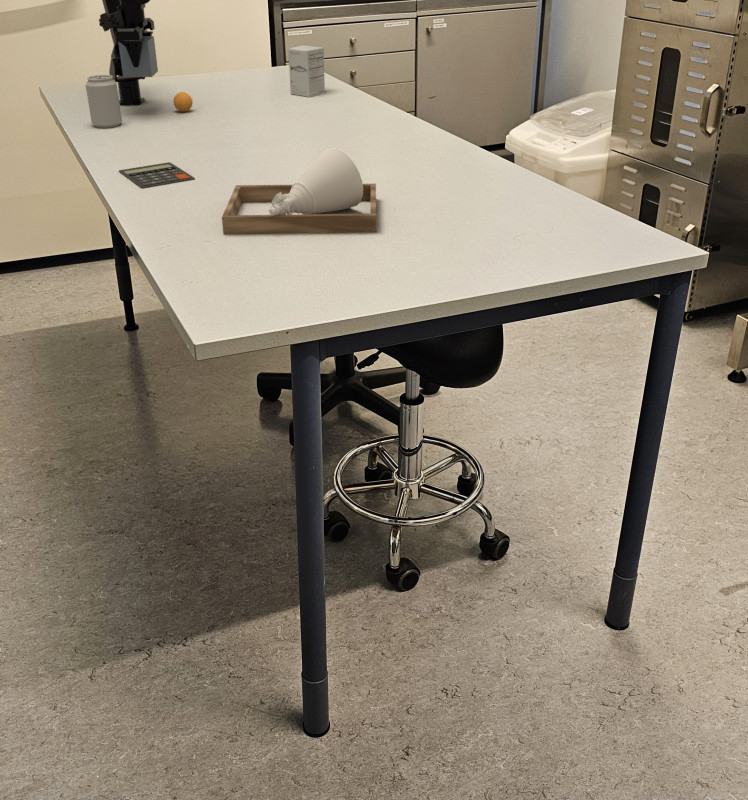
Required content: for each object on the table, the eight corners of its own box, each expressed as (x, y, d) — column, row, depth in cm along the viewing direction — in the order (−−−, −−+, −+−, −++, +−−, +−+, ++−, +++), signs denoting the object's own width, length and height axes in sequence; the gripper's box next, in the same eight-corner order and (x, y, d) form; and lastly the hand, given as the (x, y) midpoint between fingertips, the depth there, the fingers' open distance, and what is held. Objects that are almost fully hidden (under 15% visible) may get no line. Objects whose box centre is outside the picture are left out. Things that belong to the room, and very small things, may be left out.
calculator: (141, 186, 187) (118, 169, 198) (141, 191, 187) (118, 173, 198) (195, 177, 192) (169, 161, 203) (195, 181, 192) (170, 165, 204)
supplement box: (289, 94, 265) (287, 48, 259) (306, 90, 270) (304, 44, 264) (309, 97, 261) (307, 50, 255) (326, 93, 266) (324, 46, 260)
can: (118, 128, 232) (110, 79, 226) (88, 128, 232) (80, 79, 226) (125, 121, 238) (118, 73, 232) (97, 121, 238) (89, 73, 233)
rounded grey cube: (129, 71, 246) (125, 36, 241) (158, 71, 246) (153, 36, 241) (123, 77, 239) (118, 41, 235) (152, 77, 239) (147, 41, 235)
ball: (176, 109, 250) (174, 90, 247) (194, 109, 250) (192, 90, 247) (172, 113, 245) (170, 94, 243) (191, 113, 245) (189, 94, 243)
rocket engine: (258, 174, 158) (335, 136, 166) (239, 205, 168) (312, 167, 176) (297, 230, 158) (372, 188, 167) (276, 257, 168) (347, 216, 177)
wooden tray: (237, 200, 179) (235, 185, 178) (376, 198, 179) (375, 183, 178) (223, 233, 163) (221, 217, 161) (376, 231, 163) (376, 215, 161)
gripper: (108, -5, 241) (117, 57, 249) (89, 5, 225) (99, 71, 233) (151, -6, 241) (158, 57, 249) (134, 4, 225) (143, 71, 233)
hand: (139, 64), depth 241 cm, fingers closed on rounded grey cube, 7 cm apart
